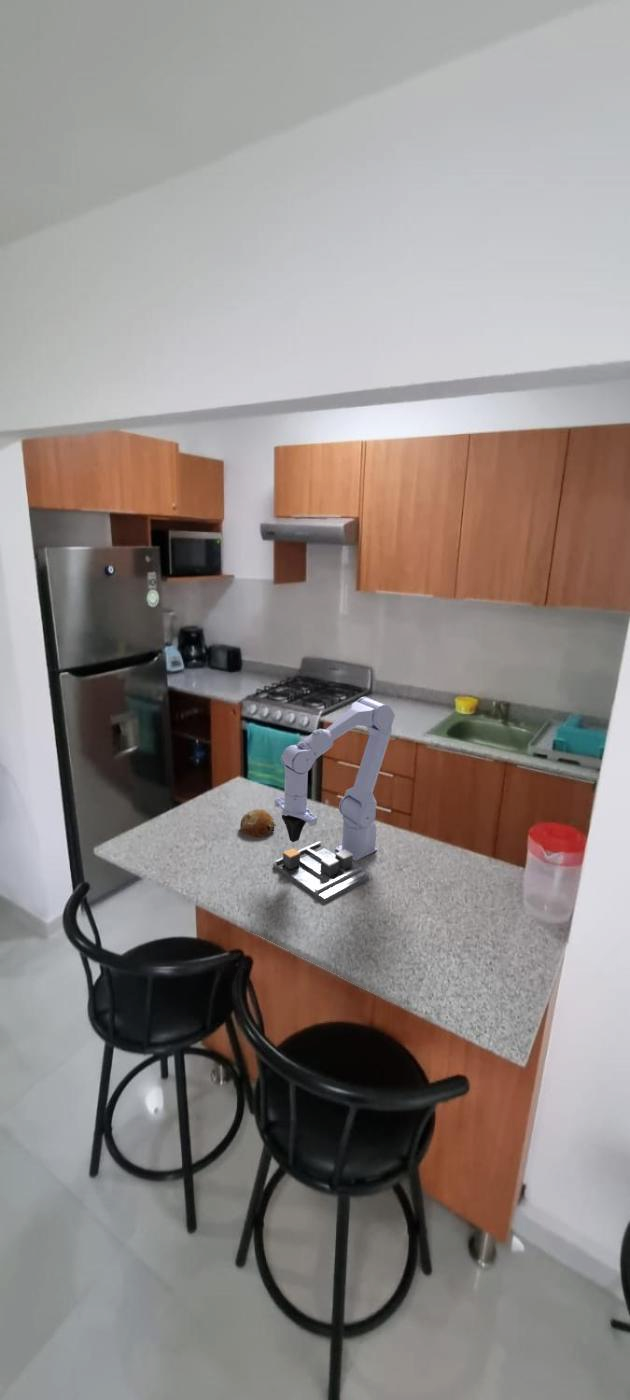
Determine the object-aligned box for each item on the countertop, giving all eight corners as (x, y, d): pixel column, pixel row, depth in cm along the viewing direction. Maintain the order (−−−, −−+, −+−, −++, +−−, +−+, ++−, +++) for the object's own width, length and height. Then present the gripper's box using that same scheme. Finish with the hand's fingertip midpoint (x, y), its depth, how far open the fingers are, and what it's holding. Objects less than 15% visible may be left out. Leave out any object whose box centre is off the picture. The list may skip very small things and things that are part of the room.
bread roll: (261, 830, 175) (253, 806, 175) (284, 827, 169) (276, 802, 169) (239, 843, 167) (230, 818, 167) (263, 840, 161) (254, 814, 161)
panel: (317, 847, 160) (317, 840, 159) (369, 879, 146) (369, 871, 145) (273, 866, 149) (273, 859, 149) (324, 902, 135) (324, 895, 134)
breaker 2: (344, 861, 151) (344, 849, 150) (352, 865, 148) (352, 853, 148) (335, 865, 148) (335, 853, 147) (343, 870, 146) (343, 858, 145)
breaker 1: (329, 867, 147) (330, 855, 146) (337, 872, 145) (338, 860, 144) (320, 872, 145) (321, 860, 144) (328, 877, 143) (329, 865, 142)
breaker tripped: (292, 859, 150) (293, 848, 149) (299, 864, 148) (300, 852, 147) (282, 864, 148) (283, 852, 147) (290, 869, 146) (290, 857, 145)
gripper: (265, 786, 144) (265, 833, 148) (302, 806, 134) (300, 857, 138) (286, 779, 149) (285, 825, 152) (324, 798, 139) (321, 847, 142)
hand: (294, 840), depth 145 cm, fingers closed
